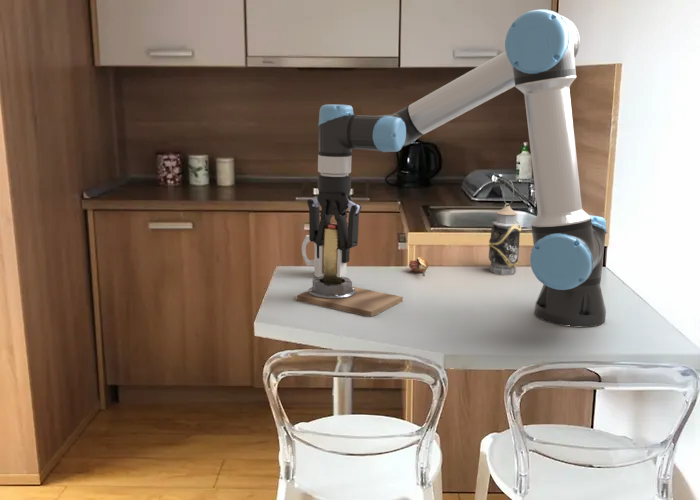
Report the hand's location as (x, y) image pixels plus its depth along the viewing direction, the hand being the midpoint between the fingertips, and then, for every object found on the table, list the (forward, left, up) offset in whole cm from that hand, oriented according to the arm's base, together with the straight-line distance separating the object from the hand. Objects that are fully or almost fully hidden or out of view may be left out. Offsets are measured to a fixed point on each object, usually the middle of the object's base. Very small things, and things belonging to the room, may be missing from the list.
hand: (332, 274), depth 179 cm
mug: (+13, -14, -6) cm, 20 cm away
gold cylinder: (0, 0, -3) cm, 3 cm away
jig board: (-5, 0, -6) cm, 7 cm away
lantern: (-23, -48, -6) cm, 54 cm away
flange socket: (0, 0, -4) cm, 4 cm away
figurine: (-6, -32, -6) cm, 33 cm away
